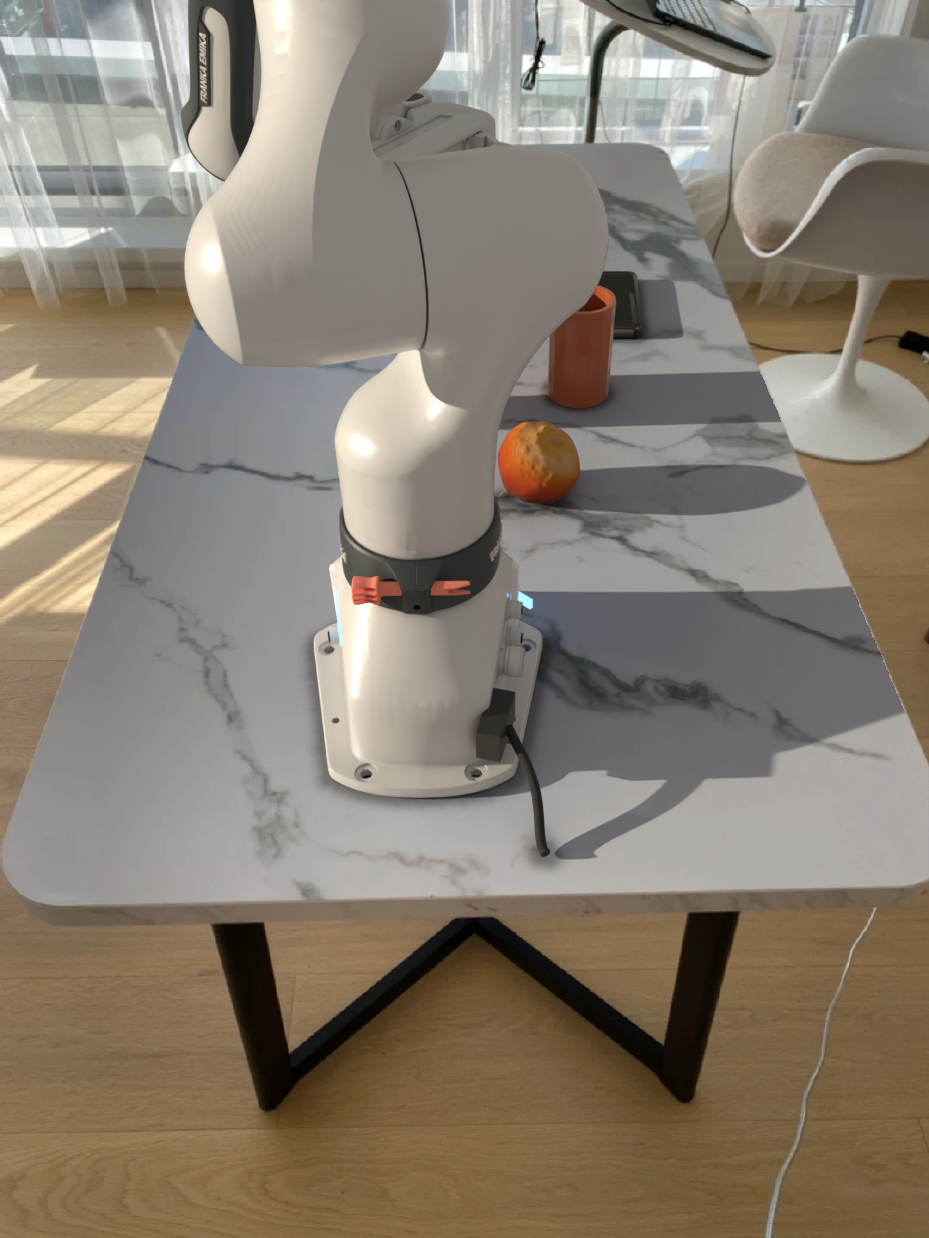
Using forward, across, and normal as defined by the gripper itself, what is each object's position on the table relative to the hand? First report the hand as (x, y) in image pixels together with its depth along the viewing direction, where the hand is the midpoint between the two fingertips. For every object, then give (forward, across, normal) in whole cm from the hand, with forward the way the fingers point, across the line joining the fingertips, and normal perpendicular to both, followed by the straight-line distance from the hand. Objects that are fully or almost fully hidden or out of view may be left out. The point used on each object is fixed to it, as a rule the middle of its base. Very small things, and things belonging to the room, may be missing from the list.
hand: (483, 170), depth 105 cm
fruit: (+18, -18, +22) cm, 33 cm away
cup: (+12, 0, +22) cm, 25 cm away
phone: (+6, +19, +22) cm, 29 cm away
